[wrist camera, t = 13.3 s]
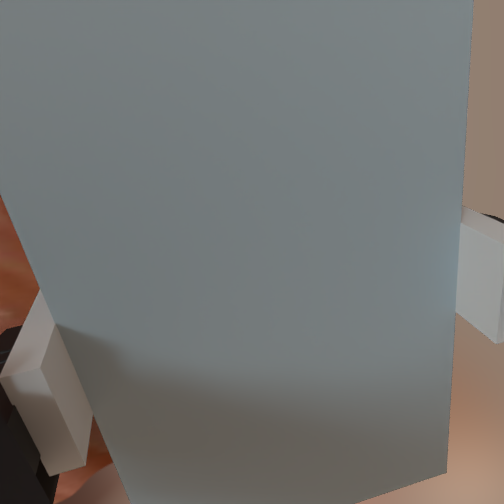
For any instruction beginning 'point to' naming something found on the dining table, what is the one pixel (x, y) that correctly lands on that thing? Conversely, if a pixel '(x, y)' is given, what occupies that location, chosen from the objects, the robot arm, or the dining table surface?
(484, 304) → the robot arm
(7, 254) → the dining table surface
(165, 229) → the lid
